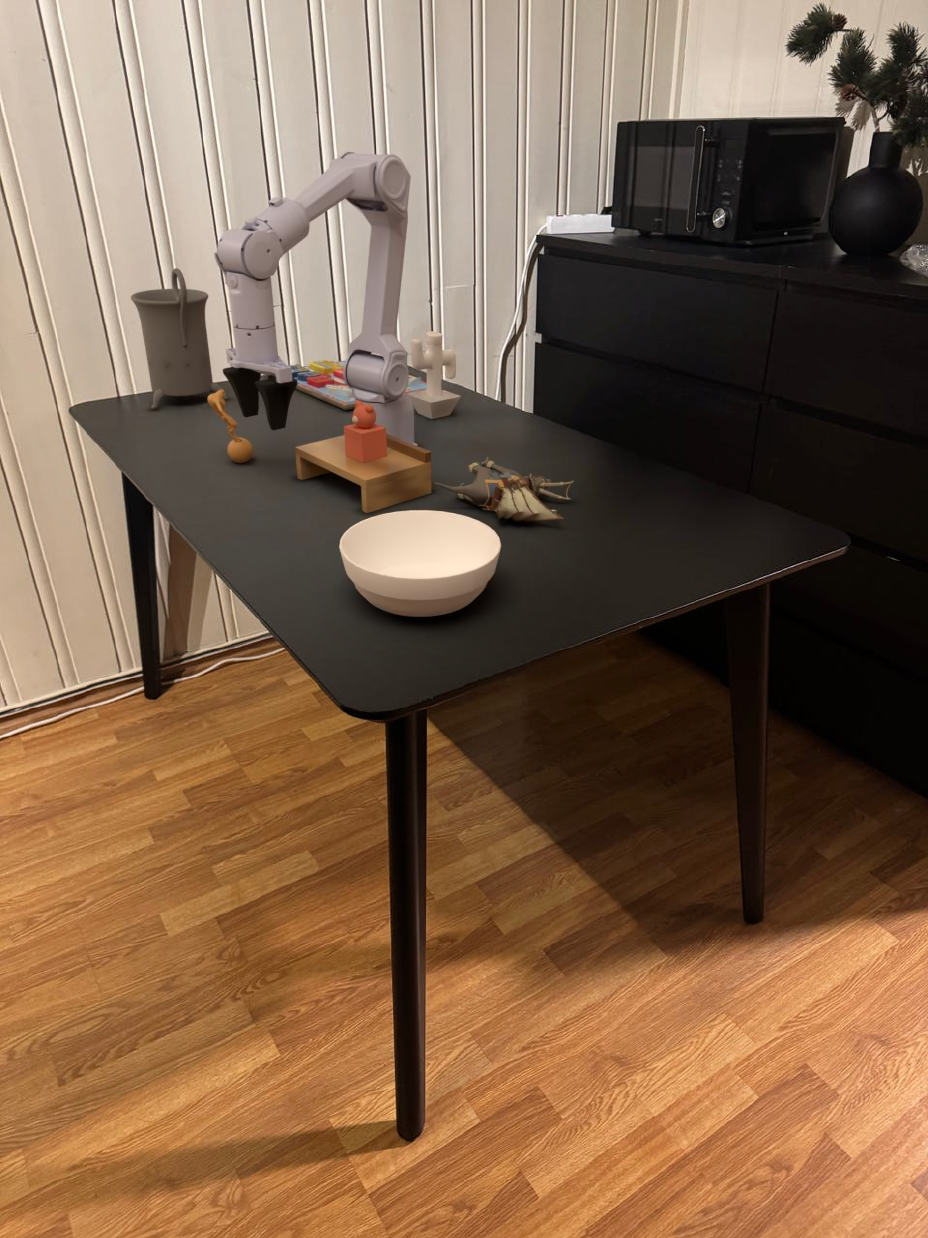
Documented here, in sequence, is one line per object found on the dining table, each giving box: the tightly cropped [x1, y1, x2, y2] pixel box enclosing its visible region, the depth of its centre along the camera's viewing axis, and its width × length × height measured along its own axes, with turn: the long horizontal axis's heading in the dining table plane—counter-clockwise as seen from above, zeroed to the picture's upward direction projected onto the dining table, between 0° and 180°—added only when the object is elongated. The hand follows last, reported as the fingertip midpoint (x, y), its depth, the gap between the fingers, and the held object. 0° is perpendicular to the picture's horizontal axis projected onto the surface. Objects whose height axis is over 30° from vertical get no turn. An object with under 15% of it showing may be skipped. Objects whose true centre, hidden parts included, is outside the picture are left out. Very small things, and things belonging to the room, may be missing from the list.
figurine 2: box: [407, 330, 462, 420], centre depth 160 cm, size 7×9×15 cm
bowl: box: [338, 509, 502, 618], centre depth 100 cm, size 18×18×7 cm
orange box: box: [343, 401, 387, 463], centre depth 127 cm, size 4×4×8 cm
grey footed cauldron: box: [130, 267, 229, 410], centre depth 163 cm, size 19×15×25 cm
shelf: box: [294, 423, 432, 514], centre depth 130 cm, size 12×18×6 cm, turn 42°
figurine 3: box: [433, 456, 574, 523], centre depth 122 cm, size 20×6×17 cm
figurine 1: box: [207, 388, 254, 464], centre depth 136 cm, size 8×6×12 cm
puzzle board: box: [289, 359, 427, 411], centre depth 180 cm, size 30×23×3 cm
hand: (264, 422), depth 126 cm, fingers open, 7 cm apart
